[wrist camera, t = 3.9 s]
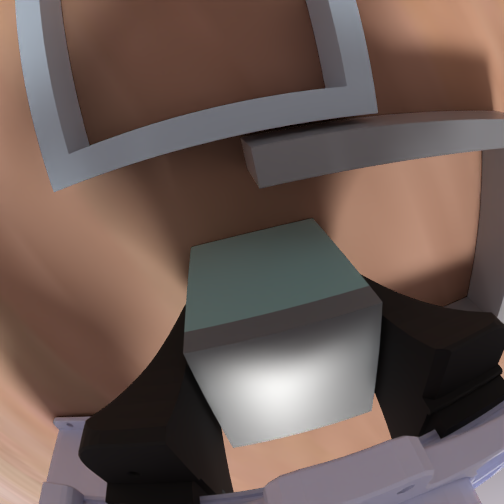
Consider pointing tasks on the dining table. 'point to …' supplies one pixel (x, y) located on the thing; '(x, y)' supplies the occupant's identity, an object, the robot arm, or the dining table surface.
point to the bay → (394, 150)
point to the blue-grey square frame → (190, 125)
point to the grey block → (280, 332)
